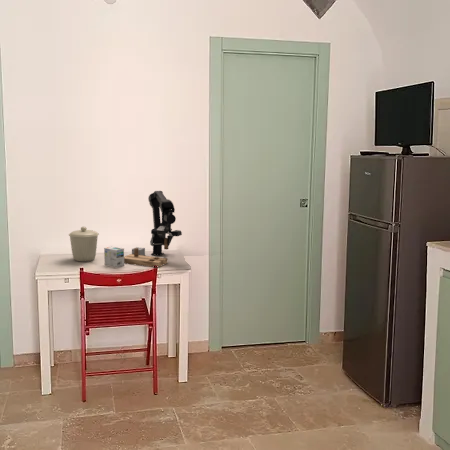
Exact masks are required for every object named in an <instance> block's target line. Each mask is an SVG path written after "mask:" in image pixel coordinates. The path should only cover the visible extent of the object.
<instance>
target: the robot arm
mask: <svg viewBox="0 0 450 450" xmlns="http://www.w3.org/2000/svg"><path fill="white" fill-rule="evenodd" d="M148 202H149V206H150V207H151V208H152V209H151V210H152V220H153V228H152V229H151V230H150V234H151V238H150V242H149V245H150V246H152V253H150V256H151V255H152V256H162V255H164V254H165V253H164V252H163V246H164V238H168V247H169V246H170V244H171V242H172V239H174V237H179V236H182V235H183V232H182V231H181V230H179V229H176V230H173V229H172V225H173V224H174V223H175V222H176V218H177V217H176V216H175V215H174V213H175V206H174V202H173V201H172V200H170V199H169V198H167V197H166V196H165V195H164V193H163V191H162V190H155V191H154V192H152V193H151V194H149V195H148Z"/></svg>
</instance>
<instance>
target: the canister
mask: <svg viewBox="0 0 450 450" xmlns="http://www.w3.org/2000/svg"><path fill="white" fill-rule="evenodd" d="M99 235H100V234H99V233H98V232H97V231H95V230H92V229H87V227H86V226H81V227H80V229H77V230H73V231H71V232H70V233H68V236H69V240H70V247H71V253H72V258H73V260H74V261H76V262H83V263H84V262H91V261H93V260H94V259H96V255H97V248H98V247H97V246H98V236H99Z"/></svg>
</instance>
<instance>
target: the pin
mask: <svg viewBox="0 0 450 450" xmlns="http://www.w3.org/2000/svg"><path fill="white" fill-rule="evenodd" d="M163 248H164V250H165V251H166V250H169V246H168V237H166V238H164V245H163Z"/></svg>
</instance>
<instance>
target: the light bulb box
mask: <svg viewBox="0 0 450 450" xmlns="http://www.w3.org/2000/svg"><path fill="white" fill-rule="evenodd" d="M103 249H104V252H103V253H104V255H103V256H104V265H105V266H108V267H113V268H120V267H124V266H125V263H124V257H125V248H122V247H118V246H113V245H110V246H108V247H107V246H106V247H103Z"/></svg>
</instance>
